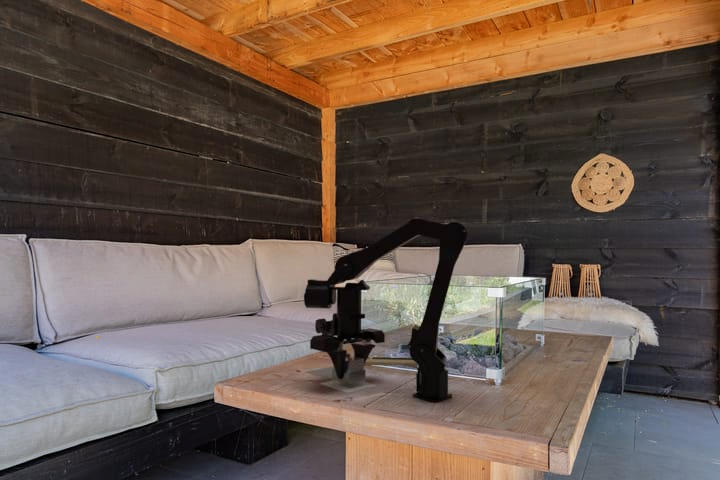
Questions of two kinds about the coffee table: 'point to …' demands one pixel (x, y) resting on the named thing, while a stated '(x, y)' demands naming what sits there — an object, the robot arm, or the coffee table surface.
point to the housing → (351, 370)
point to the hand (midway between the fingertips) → (348, 376)
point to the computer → (391, 361)
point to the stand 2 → (348, 386)
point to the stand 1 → (323, 372)
